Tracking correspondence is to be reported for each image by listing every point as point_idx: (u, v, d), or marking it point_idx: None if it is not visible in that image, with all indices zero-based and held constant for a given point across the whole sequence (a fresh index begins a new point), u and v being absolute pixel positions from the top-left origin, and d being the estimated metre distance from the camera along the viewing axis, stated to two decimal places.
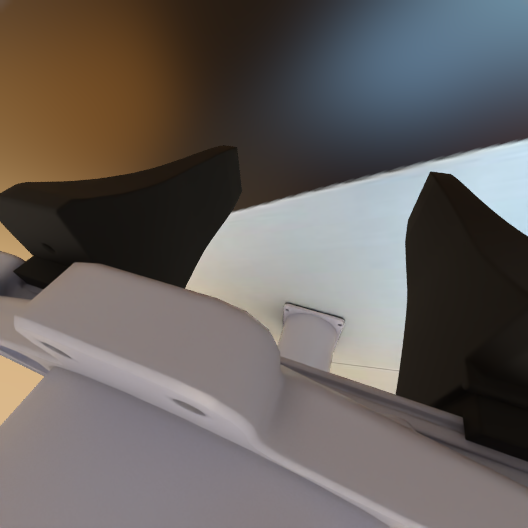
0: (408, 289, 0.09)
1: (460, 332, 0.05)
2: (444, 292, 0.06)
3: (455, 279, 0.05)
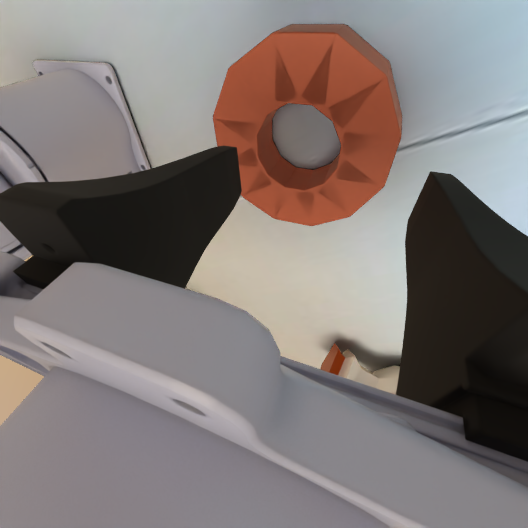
0: (408, 289, 0.09)
1: (460, 332, 0.05)
2: (444, 292, 0.06)
3: (455, 279, 0.05)
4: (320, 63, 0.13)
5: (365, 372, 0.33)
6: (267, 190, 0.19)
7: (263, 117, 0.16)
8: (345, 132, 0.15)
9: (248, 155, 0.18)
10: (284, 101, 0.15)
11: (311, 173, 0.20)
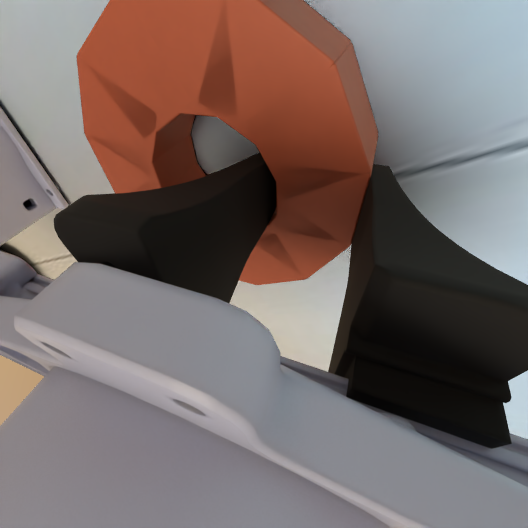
0: None
1: (353, 304, 0.05)
2: (357, 272, 0.06)
3: (361, 259, 0.06)
4: (213, 41, 0.07)
5: None
6: None
7: (152, 136, 0.10)
8: (279, 162, 0.09)
9: None
10: (174, 110, 0.09)
11: None
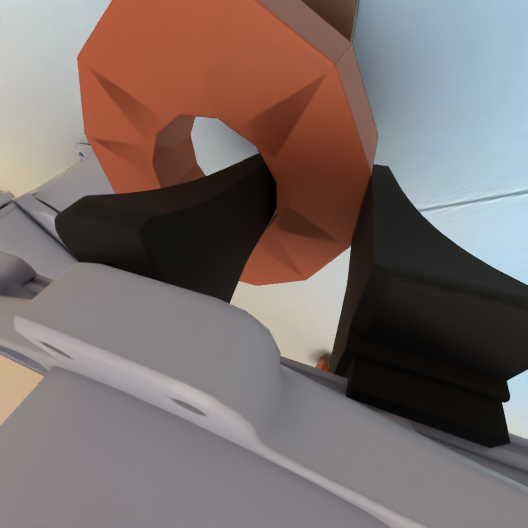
0: (348, 275, 0.09)
1: (353, 304, 0.05)
2: (356, 272, 0.06)
3: (361, 258, 0.06)
4: (214, 43, 0.07)
5: None
6: None
7: (152, 137, 0.10)
8: (279, 163, 0.09)
9: None
10: (175, 112, 0.09)
11: None
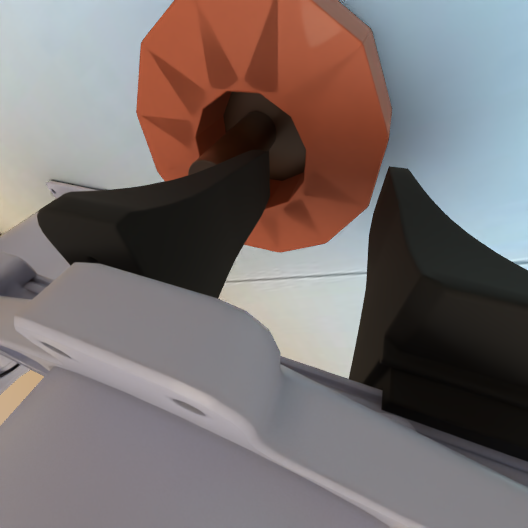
0: (367, 280, 0.09)
1: (385, 312, 0.05)
2: (383, 278, 0.06)
3: (390, 265, 0.06)
4: (263, 28, 0.08)
5: None
6: None
7: (198, 112, 0.11)
8: (310, 132, 0.10)
9: (189, 164, 0.13)
10: (222, 88, 0.10)
11: (278, 186, 0.15)
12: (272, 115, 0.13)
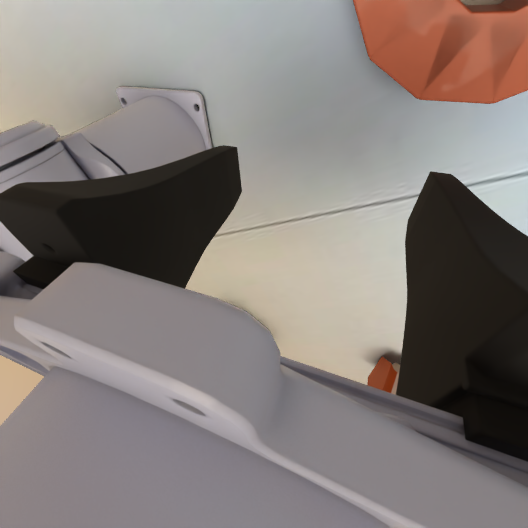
0: (408, 289, 0.09)
1: (460, 332, 0.05)
2: (444, 292, 0.06)
3: (455, 279, 0.05)
4: None
5: None
6: (430, 28, 0.11)
7: None
8: None
9: None
10: None
11: (501, 5, 0.11)
12: None
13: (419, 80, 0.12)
